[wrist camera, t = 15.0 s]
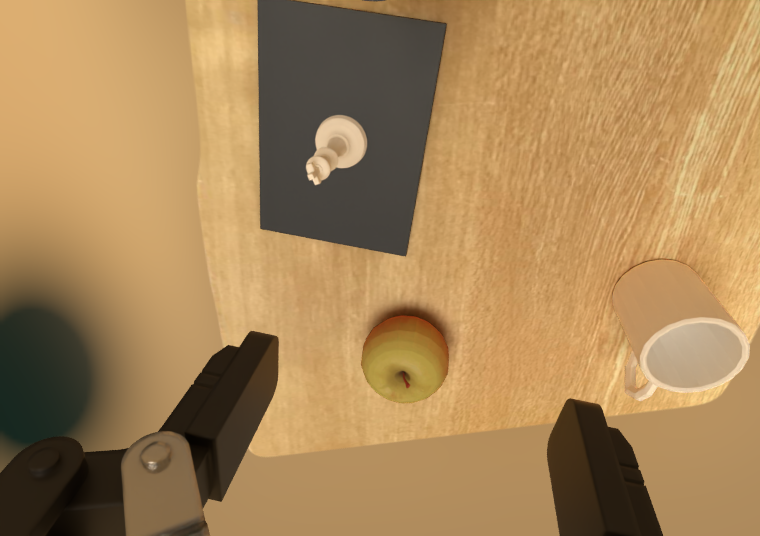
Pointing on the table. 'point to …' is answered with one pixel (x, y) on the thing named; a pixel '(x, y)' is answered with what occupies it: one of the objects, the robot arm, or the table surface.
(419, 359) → the apple
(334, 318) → the table surface
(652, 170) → the table surface
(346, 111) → the mat
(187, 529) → the robot arm
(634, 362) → the mug
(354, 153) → the chess piece
